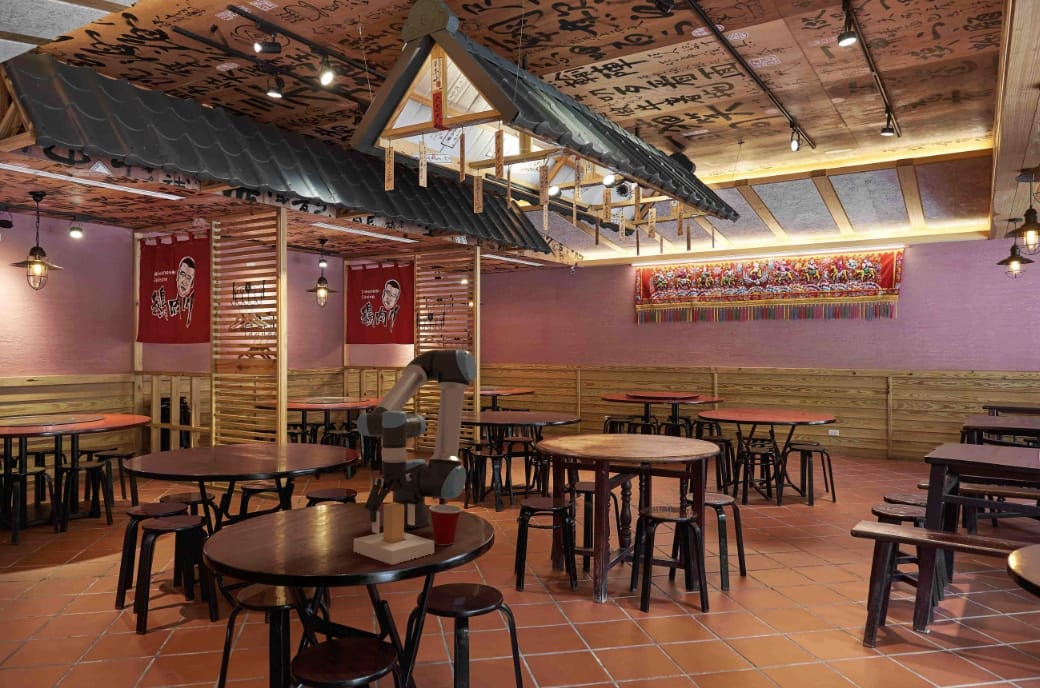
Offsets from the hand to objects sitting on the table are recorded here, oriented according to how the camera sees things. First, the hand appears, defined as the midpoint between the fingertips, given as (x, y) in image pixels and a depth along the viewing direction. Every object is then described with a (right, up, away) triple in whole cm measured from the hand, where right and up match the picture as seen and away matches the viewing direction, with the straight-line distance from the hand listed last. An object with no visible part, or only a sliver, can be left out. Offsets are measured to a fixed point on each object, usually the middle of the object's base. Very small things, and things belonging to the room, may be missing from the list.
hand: (393, 528), depth 222 cm
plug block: (0, -8, 0) cm, 8 cm away
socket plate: (0, -8, 0) cm, 8 cm away
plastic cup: (+15, -8, +11) cm, 20 cm away
